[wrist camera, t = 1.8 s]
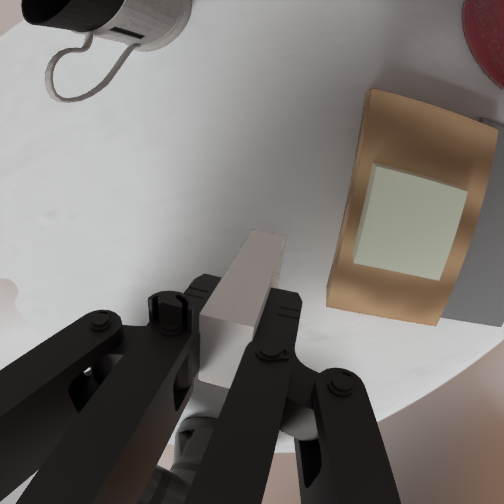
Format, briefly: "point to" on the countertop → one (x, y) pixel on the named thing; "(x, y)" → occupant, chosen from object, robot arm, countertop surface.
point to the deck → (424, 163)
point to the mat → (484, 254)
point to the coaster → (408, 222)
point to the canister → (486, 35)
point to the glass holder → (109, 27)
